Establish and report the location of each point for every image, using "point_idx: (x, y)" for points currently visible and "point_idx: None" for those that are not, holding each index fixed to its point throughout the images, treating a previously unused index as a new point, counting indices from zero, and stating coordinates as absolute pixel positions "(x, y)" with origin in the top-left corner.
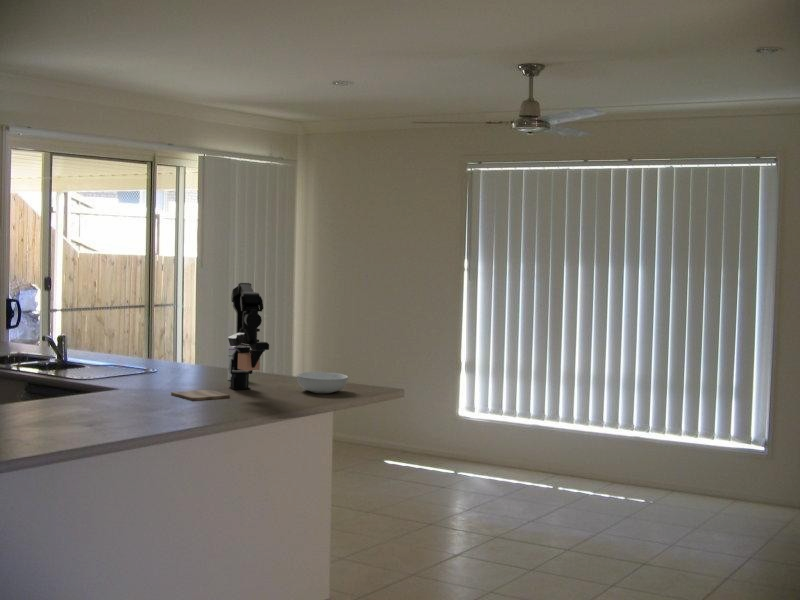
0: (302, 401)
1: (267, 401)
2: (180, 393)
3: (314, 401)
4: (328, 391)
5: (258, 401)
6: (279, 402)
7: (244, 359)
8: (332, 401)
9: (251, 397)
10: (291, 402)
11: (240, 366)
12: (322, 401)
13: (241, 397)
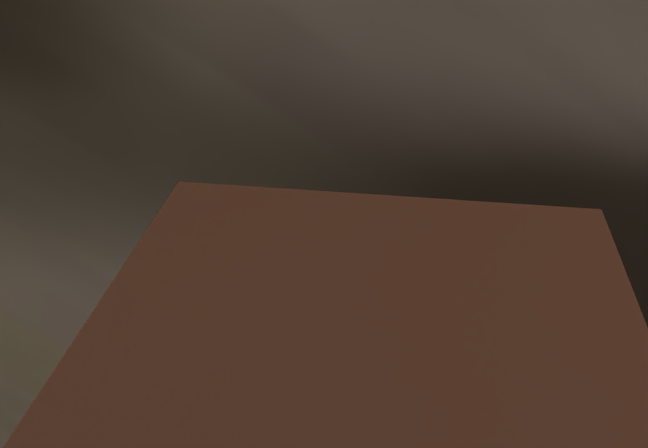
0: (45, 322)
1: (102, 116)
2: None
3: (31, 370)
4: None
5: (124, 37)
6: (25, 171)
7: (162, 436)
8: (15, 428)
9: (397, 131)
10: (11, 244)
11: (453, 253)
12: (24, 398)
13: (462, 34)
